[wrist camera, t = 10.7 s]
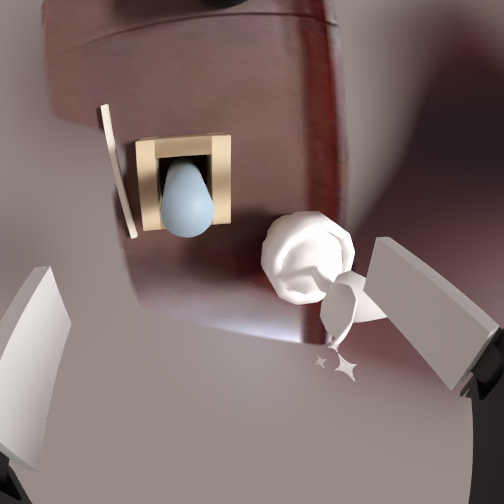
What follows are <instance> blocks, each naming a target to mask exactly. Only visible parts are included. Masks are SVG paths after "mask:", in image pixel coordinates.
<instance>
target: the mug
mask: <svg viewBox="0 0 504 504" xmlns="http://www.w3.org/2000/svg"><path fill="white" fill-rule="evenodd" d="M203 1H204V2H205V3H207V4H209V5H212V6H215V7H233V6H236V5H239V4H241V3H243V2H245V1H247V0H203Z"/></svg>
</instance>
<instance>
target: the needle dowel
mask: <svg viewBox="0 0 504 504" xmlns="http://www.w3.org/2000/svg"><path fill="white" fill-rule="evenodd" d="M213 217H214V205H213V202H212V199H211V197H210V195H209V192H208V190H207V188H206V185H205V183H204V181H203V178H202V176H201V174H200V172H199V169H198V167H197V165H196V163H195V162H194V161H192V160H191V159H189V158H179V159H176V160H174V161H173V162H172V163H171V164H170V166H169V168H168V172H167V177H166V182H165V188H164V193H163V199H162V205H161V219H162V222H163V224H164V226H165V227H166V228H167V229H168V230H169V231H170V232H171V233H173V234H174V235H176V236H179V237H194V236H197V235H199V234H201V233H203V232H204V231H205V230H206V229H207V228H208V227H209V226H210V224H211V223H212V220H213Z"/></svg>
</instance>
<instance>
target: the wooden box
mask: <svg viewBox="0 0 504 504" xmlns="http://www.w3.org/2000/svg"><path fill="white" fill-rule="evenodd" d="M190 155H206V162H207V190H208V192H209V195H210V197H211V199H212V202H213V205H214V217H213V220H212V223H211V224H210V225H213V224H225V223H231V135H228V134H224V133H202V134H184V135H170V136H159V137H149V138H142V139H140V140H138V141H136V158H137V172H138V184H139V195H140V204H141V213H142V221H143V229H144V231H148V230H158V229H167V228H166V227H165V226H164V224H163V222H162V219H161V205H162V199H163V198H162V196H161V182H160V166H159V158H164V157H176V156H190Z"/></svg>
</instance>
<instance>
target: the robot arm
mask: <svg viewBox="0 0 504 504" xmlns="http://www.w3.org/2000/svg"><path fill="white" fill-rule="evenodd" d="M363 291H364V292H365V293H366V294H367V295H368V296H369V297H370V299H371V300H372V301H373V302H374V303H375V304H376V305H377V306H378V307H379V308H380V309H381V310H382V311H383V313H384V314H385V315H386V316H387V317H388V318H389V319H390V320H391V321H392V322H393V323H394V325H395V326H396V327H397V328H398V329H399V330H400V331H401V332H402V333H403V335H404V336H405V337H406V338H407V339H408V340H409V341H410V342H411V344H412V345H413V346H414V347H415V348H416V349H417V350H418V352H419V353H420V354H421V355H422V356H423V358H424V359H425V360H426V361H427V362H428V363H429V365H430V366H431V367H432V368H433V369H434V371H435V372H436V373H437V374H438V375H439V377H440V378H441V379H442V380H443V381H444V383H445V384H446V385H447V386H448V387H449V389H450V390H453V389H454V388H455V387H457V386H458V385H460V384H461V383H462V382H463V381H464V380H465V378H466V377H467V376H468V374H469V373H470V372H472V373H473V374H474V375H473V376H472V377H471V379H470V380H469V381H468V383H467V384H466V385H465V386H464V388H463V389H462V391H461V393H460V396H463V395H464V394H465V392H466V391H467V390H468V389H470V390H469V391H468V392H467V394H466V396H465V397H468V398H471V399H472V414H473V466H472V479H471V490H470V497H469V504H504V329H503V330H502V329H501V328H500V327H499V325H497V323H495V322H494V321H493V320H492V319H491V318H490V317H489V316H488V315H487V314H486V313H485V312H483V311H482V310H481V309H480V308H479V307H478V306H477V305H476V304H474V303H473V302H472V301H471V300H470V299H469V298H467V297H466V296H465V295H464V294H463V293H462V292H460V291H459V290H458V289H457V288H456V287H454V286H453V285H452V284H451V283H450V282H448V281H447V280H446V279H444V278H443V277H442V276H441V275H439V274H438V273H437V272H436V271H434V270H433V269H432V268H431V267H429V266H428V265H427V264H425V263H424V262H423V261H421V260H420V259H419V258H417V257H416V256H415V255H413V254H412V253H411V252H409V251H408V250H407V249H405V248H404V247H402V246H401V245H400V244H398V243H397V242H395V241H394V240H393V239H391V238H390V237H380V238H376V241H375V246H374V250H373V254H372V258H371V262H370V266H369V270H368V274H367V277H366V281H365V285H364V288H363ZM70 327H71V322H70V319H69V317H68V314H67V312H66V309H65V307H64V304H63V302H62V299H61V296H60V294H59V291H58V288H57V285H56V282H55V279H54V276H53V273H52V270H51V267H50V266H47V267H36V268H34V269H33V271H32V272H31V274H30V275H29V277H28V278H27V280H26V281H25V283H24V284H23V286H22V287H21V289H20V290H19V292H18V294H17V295H16V297H15V298H14V300H13V302H12V303H11V305H10V307H9V308H8V310H7V312H6V313H5V315H4V317H3V319H2V320H1V323H0V504H32V503H31V501H30V500H29V498H28V496H27V494H26V493H25V491H24V489H23V488H22V486H21V484H20V482H19V480H18V478H17V476H16V474H15V472H14V471H13V470H12V468H11V467H10V466H9V464H8V463H9V459H10V460H11V461H13V462H14V463H16V464H17V465H18V466H20V467H21V468H25V469H29V470H32V471H36V472H40V464H41V454H42V446H43V439H44V432H45V425H46V420H47V414H48V409H49V404H50V399H51V394H52V390H53V386H54V382H55V378H56V374H57V370H58V366H59V363H60V359H61V356H62V352H63V349H64V345H65V342H66V339H67V336H68V333H69V330H70Z"/></svg>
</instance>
